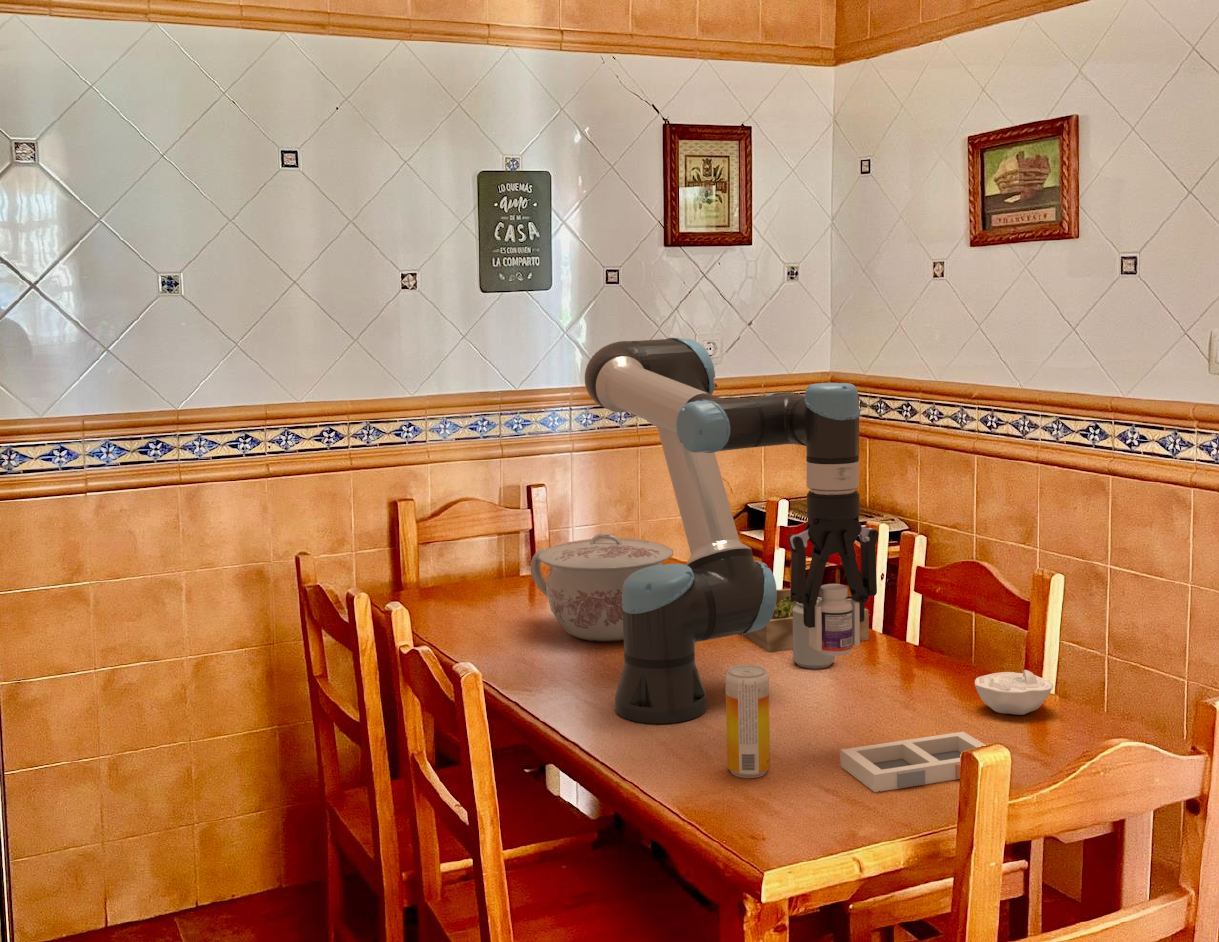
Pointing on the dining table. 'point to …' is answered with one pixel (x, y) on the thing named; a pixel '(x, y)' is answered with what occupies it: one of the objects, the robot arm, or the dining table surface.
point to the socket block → (908, 761)
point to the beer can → (747, 721)
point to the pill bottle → (836, 620)
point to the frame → (789, 629)
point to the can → (806, 644)
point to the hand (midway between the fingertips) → (834, 645)
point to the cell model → (1013, 691)
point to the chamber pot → (593, 581)
